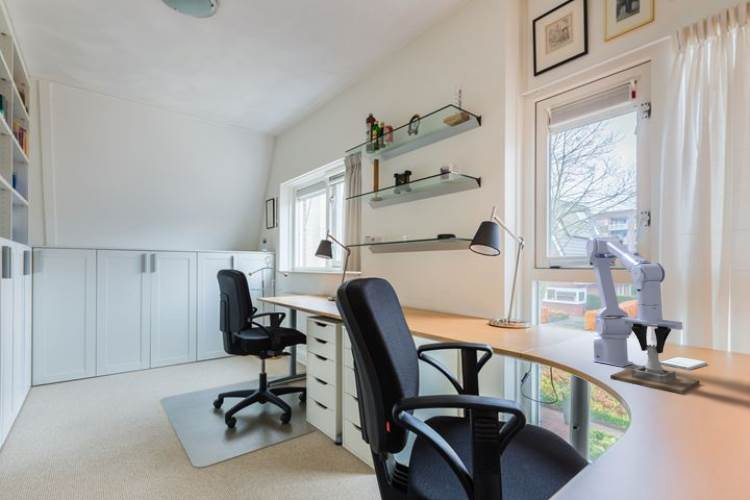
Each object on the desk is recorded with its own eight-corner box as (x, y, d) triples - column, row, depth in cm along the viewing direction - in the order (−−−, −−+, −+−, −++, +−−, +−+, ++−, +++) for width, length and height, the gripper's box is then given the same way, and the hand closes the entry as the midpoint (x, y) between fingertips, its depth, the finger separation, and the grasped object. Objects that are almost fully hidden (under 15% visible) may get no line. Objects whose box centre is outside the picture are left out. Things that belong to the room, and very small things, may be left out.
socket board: (610, 378, 110) (609, 368, 110) (631, 370, 118) (630, 361, 118) (681, 394, 96) (680, 382, 96) (699, 383, 104) (699, 372, 104)
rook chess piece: (666, 376, 104) (664, 347, 105) (647, 375, 106) (645, 347, 106) (660, 371, 109) (658, 343, 109) (642, 370, 110) (640, 343, 110)
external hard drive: (707, 366, 123) (688, 372, 117) (677, 361, 130) (659, 366, 124) (706, 361, 123) (688, 366, 117) (677, 356, 130) (658, 361, 124)
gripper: (615, 303, 112) (618, 349, 111) (674, 307, 100) (677, 358, 99) (626, 302, 116) (628, 346, 115) (684, 305, 104) (687, 354, 103)
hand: (652, 351), depth 107 cm, fingers closed on rook chess piece, 3 cm apart
